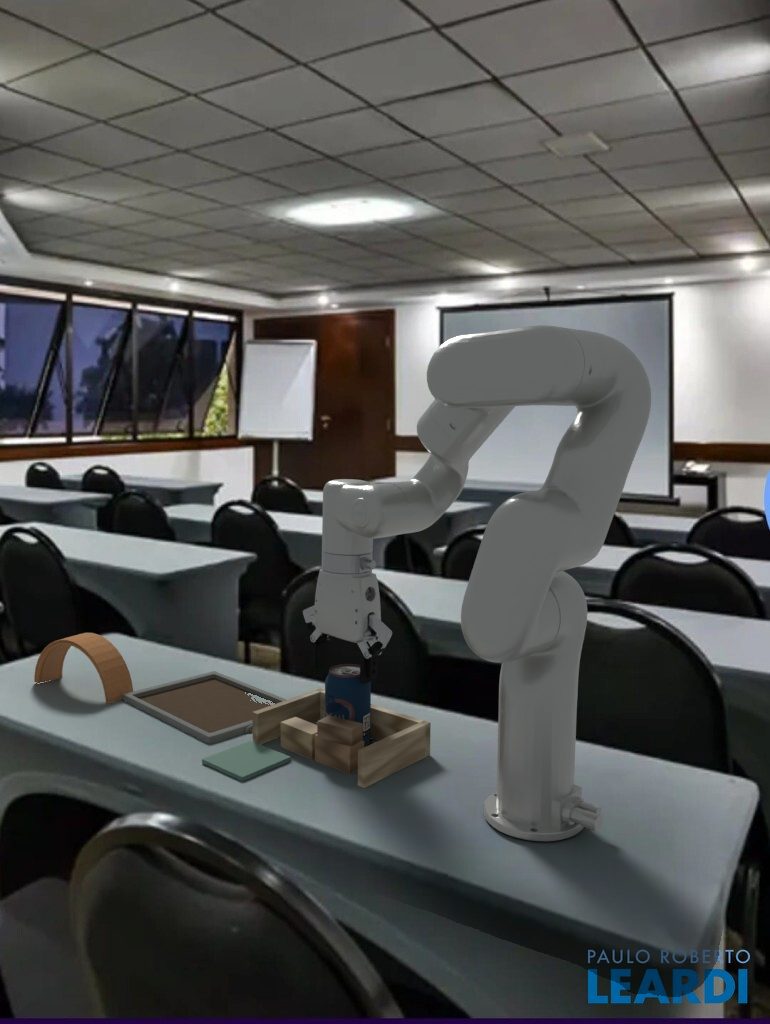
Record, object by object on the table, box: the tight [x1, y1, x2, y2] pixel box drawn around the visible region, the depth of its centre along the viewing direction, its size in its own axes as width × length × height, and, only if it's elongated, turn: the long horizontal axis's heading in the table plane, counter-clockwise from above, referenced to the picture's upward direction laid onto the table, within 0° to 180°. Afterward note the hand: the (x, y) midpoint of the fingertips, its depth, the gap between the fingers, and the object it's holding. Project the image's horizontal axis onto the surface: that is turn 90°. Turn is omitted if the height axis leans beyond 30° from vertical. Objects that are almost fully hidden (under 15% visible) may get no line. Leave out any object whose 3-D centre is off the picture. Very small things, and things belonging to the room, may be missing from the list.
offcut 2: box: [314, 734, 364, 775], centre depth 119 cm, size 7×3×4 cm, turn 50°
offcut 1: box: [280, 717, 317, 760], centre depth 124 cm, size 7×3×4 cm, turn 47°
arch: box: [33, 632, 134, 704], centre depth 150 cm, size 6×20×10 cm, turn 59°
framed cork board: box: [122, 671, 287, 745], centre depth 142 cm, size 19×2×30 cm
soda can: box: [324, 663, 372, 747], centre depth 125 cm, size 7×7×12 cm
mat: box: [201, 740, 292, 782], centre depth 120 cm, size 9×9×1 cm
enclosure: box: [252, 688, 431, 789], centre depth 124 cm, size 23×15×5 cm, turn 49°
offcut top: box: [316, 715, 363, 746], centre depth 119 cm, size 6×3×2 cm, turn 59°
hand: (344, 673), depth 125 cm, fingers open, 9 cm apart
